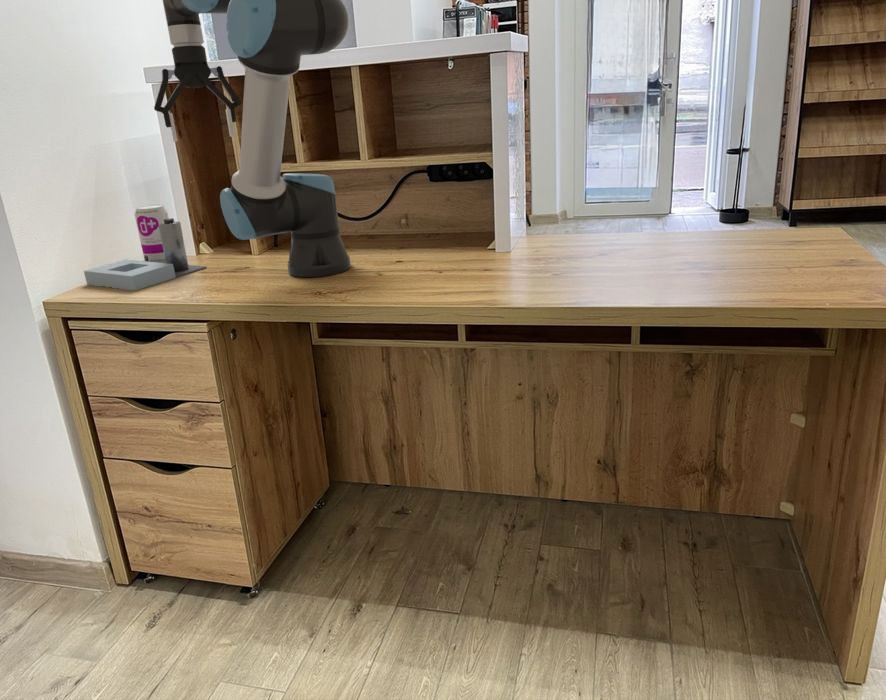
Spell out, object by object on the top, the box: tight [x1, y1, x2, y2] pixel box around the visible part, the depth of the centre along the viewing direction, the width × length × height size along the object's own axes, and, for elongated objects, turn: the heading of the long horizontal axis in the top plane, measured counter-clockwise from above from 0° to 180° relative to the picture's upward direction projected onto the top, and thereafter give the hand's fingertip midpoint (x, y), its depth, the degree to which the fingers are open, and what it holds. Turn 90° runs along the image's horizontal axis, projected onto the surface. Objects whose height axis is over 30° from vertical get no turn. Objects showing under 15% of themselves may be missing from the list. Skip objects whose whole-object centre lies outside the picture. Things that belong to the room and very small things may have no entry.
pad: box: [175, 264, 207, 279], centre depth 180 cm, size 10×10×1 cm
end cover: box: [158, 217, 189, 272], centre depth 178 cm, size 5×5×13 cm
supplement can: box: [134, 204, 170, 263], centre depth 190 cm, size 8×8×15 cm
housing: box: [83, 259, 176, 292], centre depth 173 cm, size 18×12×4 cm, turn 60°
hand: (204, 139), depth 174 cm, fingers open, 13 cm apart
